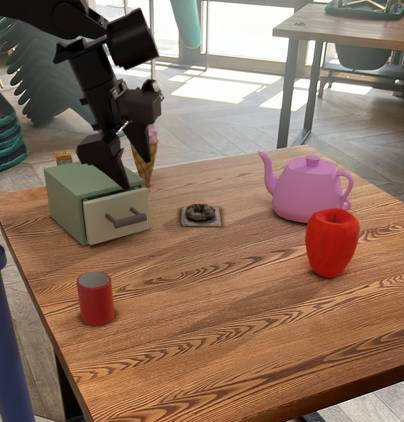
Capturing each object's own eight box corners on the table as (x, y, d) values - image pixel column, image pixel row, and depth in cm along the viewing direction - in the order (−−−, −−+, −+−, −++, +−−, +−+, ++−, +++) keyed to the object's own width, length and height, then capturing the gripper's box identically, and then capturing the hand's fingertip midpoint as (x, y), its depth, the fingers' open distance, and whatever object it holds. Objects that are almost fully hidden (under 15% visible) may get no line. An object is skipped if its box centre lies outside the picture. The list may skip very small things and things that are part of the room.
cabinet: (147, 228, 110) (145, 179, 104) (82, 246, 104) (76, 195, 98) (111, 201, 120) (108, 155, 113) (50, 216, 113) (43, 168, 107)
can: (90, 329, 84) (85, 292, 80) (75, 313, 88) (70, 276, 83) (120, 319, 87) (117, 282, 83) (105, 303, 90) (101, 267, 86)
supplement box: (60, 198, 120) (53, 150, 114) (77, 196, 121) (71, 149, 115) (62, 205, 118) (55, 156, 111) (79, 203, 118) (73, 154, 112)
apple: (306, 255, 103) (315, 198, 96) (355, 264, 101) (367, 207, 94) (294, 278, 97) (303, 219, 90) (345, 289, 95) (358, 229, 88)
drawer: (163, 238, 105) (162, 198, 100) (102, 256, 100) (98, 214, 95) (116, 203, 117) (113, 165, 112) (59, 217, 111) (53, 178, 106)
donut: (181, 207, 118) (181, 198, 116) (219, 208, 118) (219, 198, 117) (180, 226, 111) (180, 216, 110) (220, 226, 111) (221, 216, 110)
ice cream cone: (163, 191, 124) (162, 119, 115) (136, 194, 122) (132, 122, 113) (154, 179, 129) (152, 109, 119) (127, 183, 127) (123, 112, 118)
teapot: (352, 207, 120) (363, 150, 112) (344, 235, 110) (356, 175, 102) (259, 193, 124) (264, 138, 117) (243, 219, 114) (248, 160, 107)
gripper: (116, 95, 78) (159, 197, 87) (165, 46, 90) (198, 141, 99) (52, 112, 83) (100, 207, 92) (107, 64, 95) (144, 152, 104)
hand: (138, 175), depth 97 cm, fingers open, 9 cm apart
